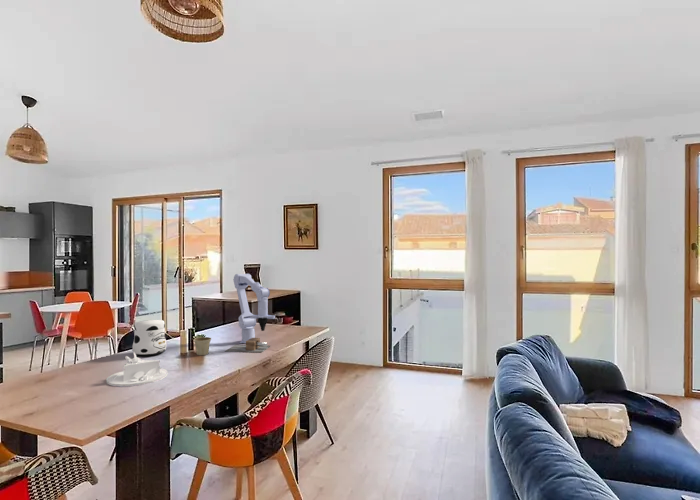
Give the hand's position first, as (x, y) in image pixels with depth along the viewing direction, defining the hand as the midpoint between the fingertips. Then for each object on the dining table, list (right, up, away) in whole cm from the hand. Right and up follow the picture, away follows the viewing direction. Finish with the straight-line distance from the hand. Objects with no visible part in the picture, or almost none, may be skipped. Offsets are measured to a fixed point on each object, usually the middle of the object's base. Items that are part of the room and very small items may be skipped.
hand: (262, 330), depth 247 cm
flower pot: (-30, -10, -17) cm, 36 cm away
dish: (-45, -10, -60) cm, 76 cm away
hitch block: (-8, -10, -5) cm, 14 cm away
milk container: (-61, -10, -17) cm, 64 cm away
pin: (-2, -9, -6) cm, 11 cm away
